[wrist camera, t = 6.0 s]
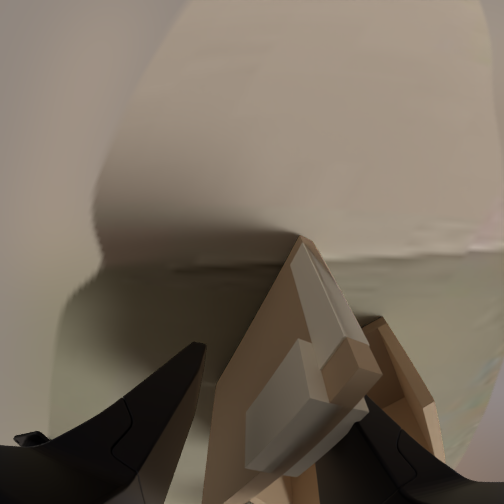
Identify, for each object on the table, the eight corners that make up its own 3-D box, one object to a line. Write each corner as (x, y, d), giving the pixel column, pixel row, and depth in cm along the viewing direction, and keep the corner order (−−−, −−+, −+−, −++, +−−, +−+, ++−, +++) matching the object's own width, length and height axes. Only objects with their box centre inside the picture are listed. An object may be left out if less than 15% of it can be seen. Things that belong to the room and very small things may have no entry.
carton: (283, 446, 18) (290, 522, 12) (227, 389, 16) (219, 483, 10) (410, 390, 16) (445, 462, 11) (382, 316, 14) (434, 401, 9)
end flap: (234, 390, 16) (226, 525, 8) (208, 381, 15) (188, 518, 8) (321, 245, 13) (398, 379, 5) (289, 230, 13) (339, 361, 5)
